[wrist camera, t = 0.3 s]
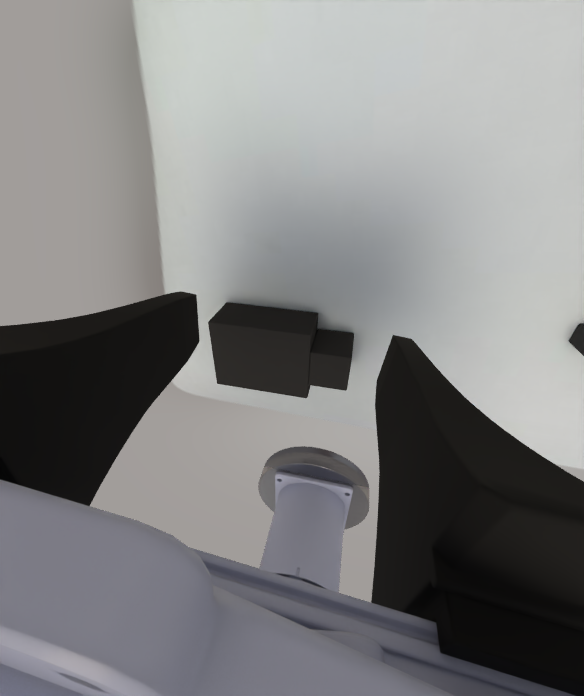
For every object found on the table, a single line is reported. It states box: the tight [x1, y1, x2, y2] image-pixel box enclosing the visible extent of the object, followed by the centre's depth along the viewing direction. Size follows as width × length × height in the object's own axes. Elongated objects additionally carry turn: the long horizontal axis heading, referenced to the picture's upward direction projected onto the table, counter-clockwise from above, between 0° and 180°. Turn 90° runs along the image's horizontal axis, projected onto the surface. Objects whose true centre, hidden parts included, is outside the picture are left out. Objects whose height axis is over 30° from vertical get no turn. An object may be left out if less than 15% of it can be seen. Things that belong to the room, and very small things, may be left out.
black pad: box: [208, 303, 354, 398], centre depth 21 cm, size 5×9×3 cm, turn 89°
